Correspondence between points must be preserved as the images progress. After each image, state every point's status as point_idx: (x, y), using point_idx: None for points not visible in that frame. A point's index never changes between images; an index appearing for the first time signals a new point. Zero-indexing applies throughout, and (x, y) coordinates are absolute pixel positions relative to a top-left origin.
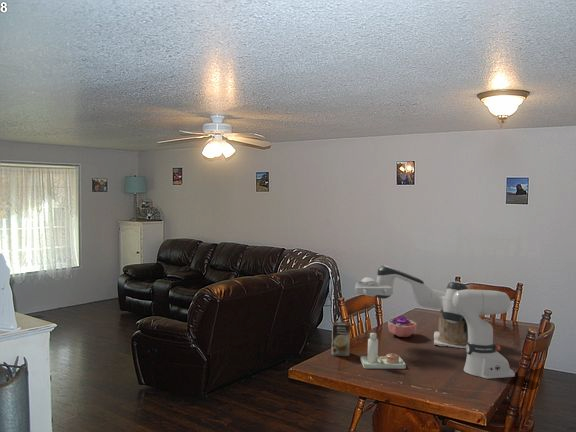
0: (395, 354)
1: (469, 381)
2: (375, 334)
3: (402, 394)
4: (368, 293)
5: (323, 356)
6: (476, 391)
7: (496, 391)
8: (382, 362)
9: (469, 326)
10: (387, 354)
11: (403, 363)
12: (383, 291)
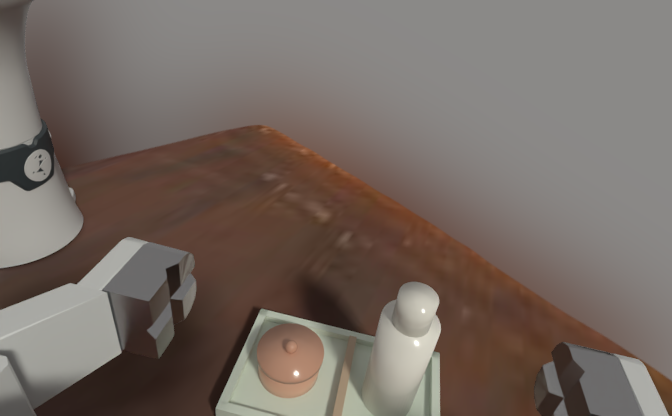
0: (267, 360)
1: (142, 196)
2: (409, 282)
3: (374, 193)
4: (542, 370)
5: None
6: (188, 163)
7: (142, 153)
8: (353, 346)
9: (19, 66)
10: (309, 370)
11: (263, 319)
12: (169, 285)
